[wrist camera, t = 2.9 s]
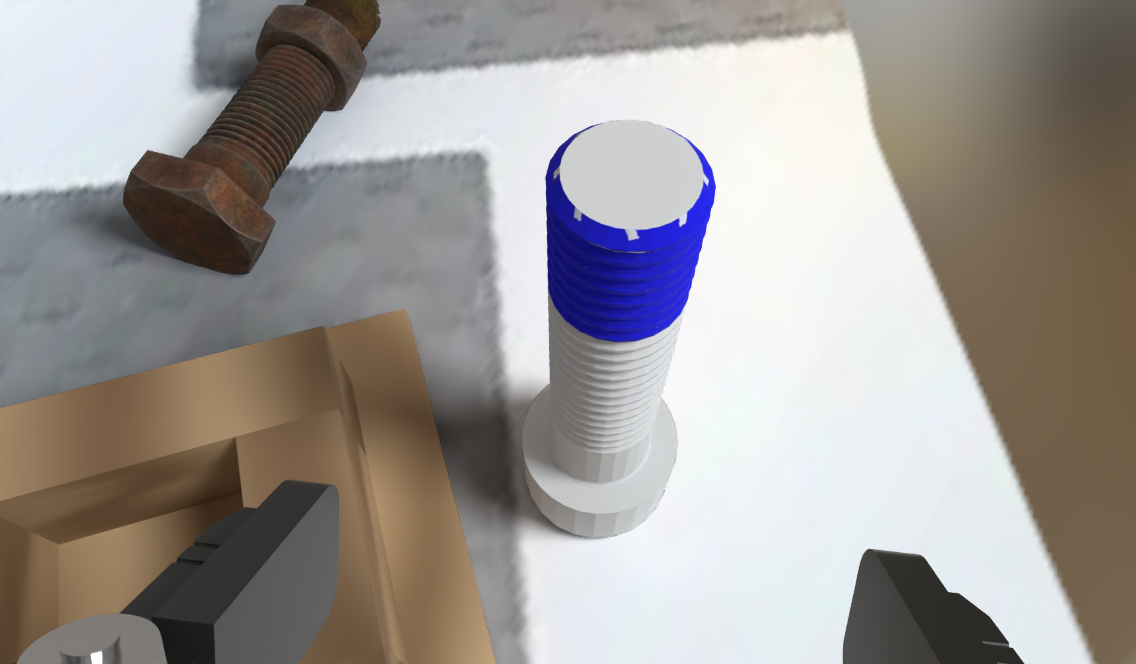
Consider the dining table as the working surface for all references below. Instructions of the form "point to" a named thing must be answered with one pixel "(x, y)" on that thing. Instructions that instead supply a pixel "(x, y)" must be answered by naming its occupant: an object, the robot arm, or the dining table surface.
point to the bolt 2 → (614, 322)
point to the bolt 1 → (253, 137)
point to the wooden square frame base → (244, 489)
